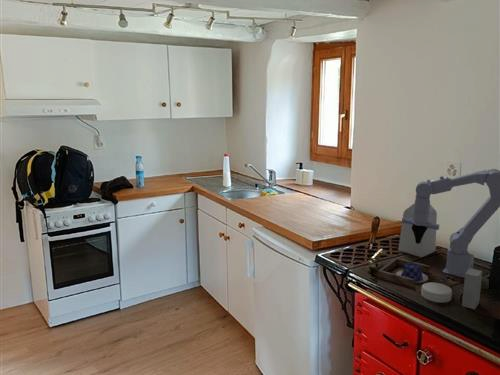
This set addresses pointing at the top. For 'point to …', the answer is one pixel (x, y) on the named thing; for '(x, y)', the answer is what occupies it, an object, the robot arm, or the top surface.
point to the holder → (399, 279)
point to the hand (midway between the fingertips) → (418, 242)
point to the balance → (376, 260)
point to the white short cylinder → (436, 292)
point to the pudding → (413, 272)
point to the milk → (408, 237)
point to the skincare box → (472, 288)
